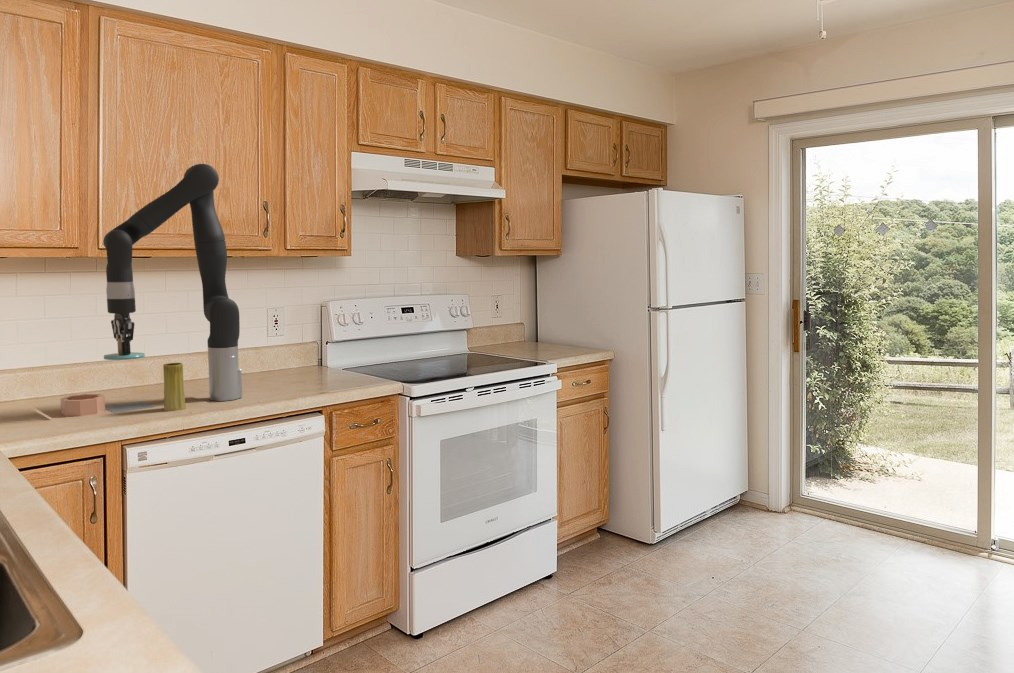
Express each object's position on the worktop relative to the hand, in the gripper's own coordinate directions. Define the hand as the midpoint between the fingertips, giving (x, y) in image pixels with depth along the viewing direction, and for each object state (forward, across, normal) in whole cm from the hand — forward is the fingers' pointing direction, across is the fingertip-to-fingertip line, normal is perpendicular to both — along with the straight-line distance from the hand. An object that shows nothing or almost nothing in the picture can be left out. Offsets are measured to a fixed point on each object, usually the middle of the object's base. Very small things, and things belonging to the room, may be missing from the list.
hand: (124, 353), depth 222 cm
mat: (+17, 0, 0) cm, 17 cm away
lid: (+1, 0, 0) cm, 1 cm away
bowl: (+17, +1, +12) cm, 21 cm away
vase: (+17, -13, -9) cm, 23 cm away
